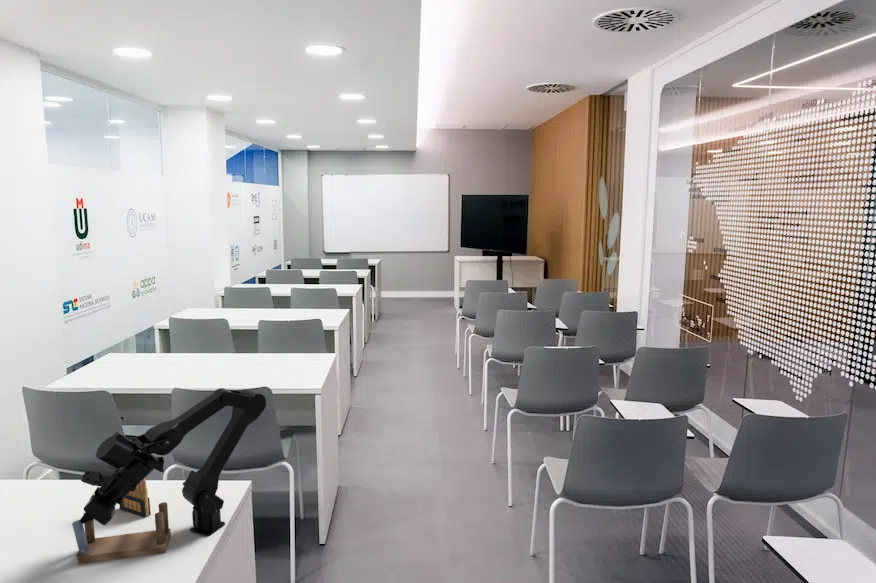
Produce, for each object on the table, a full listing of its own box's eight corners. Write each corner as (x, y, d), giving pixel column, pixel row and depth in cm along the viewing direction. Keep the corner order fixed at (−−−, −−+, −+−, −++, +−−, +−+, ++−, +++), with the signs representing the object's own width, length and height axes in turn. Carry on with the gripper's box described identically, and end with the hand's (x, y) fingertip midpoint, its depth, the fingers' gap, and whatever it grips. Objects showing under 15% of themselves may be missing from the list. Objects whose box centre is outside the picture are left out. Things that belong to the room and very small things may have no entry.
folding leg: (90, 546, 144) (83, 518, 143) (87, 552, 142) (79, 523, 141) (81, 549, 144) (73, 520, 143) (78, 554, 142) (70, 525, 140)
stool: (170, 535, 154) (168, 500, 153) (165, 552, 147) (163, 516, 145) (86, 546, 149) (83, 510, 148) (76, 565, 142) (73, 527, 140)
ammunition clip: (151, 515, 165) (148, 474, 163) (145, 518, 163) (142, 476, 162) (125, 506, 170) (122, 466, 168) (119, 509, 168) (116, 469, 166)
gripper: (115, 438, 150) (67, 483, 149) (93, 468, 132) (38, 520, 131) (149, 466, 153) (102, 511, 152) (132, 499, 135) (79, 550, 134)
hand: (81, 521), depth 142 cm, fingers closed, pressing on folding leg
